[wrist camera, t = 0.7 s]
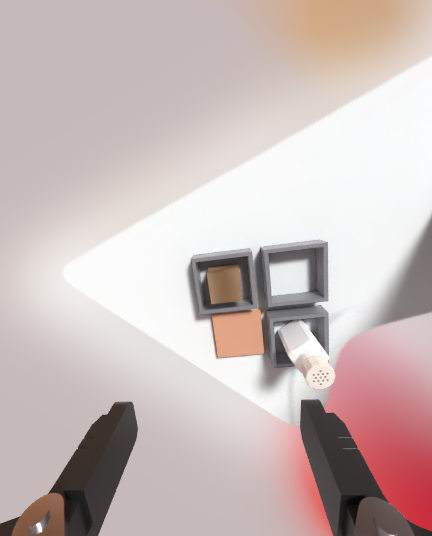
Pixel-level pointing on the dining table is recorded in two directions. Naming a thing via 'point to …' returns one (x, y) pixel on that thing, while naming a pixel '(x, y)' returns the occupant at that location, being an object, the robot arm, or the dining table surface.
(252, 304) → the bin with cube
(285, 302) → the empty bin
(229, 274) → the walnut cube
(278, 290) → the dining table surface
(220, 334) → the terracotta pad
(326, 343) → the shaker bin
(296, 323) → the salt shaker
